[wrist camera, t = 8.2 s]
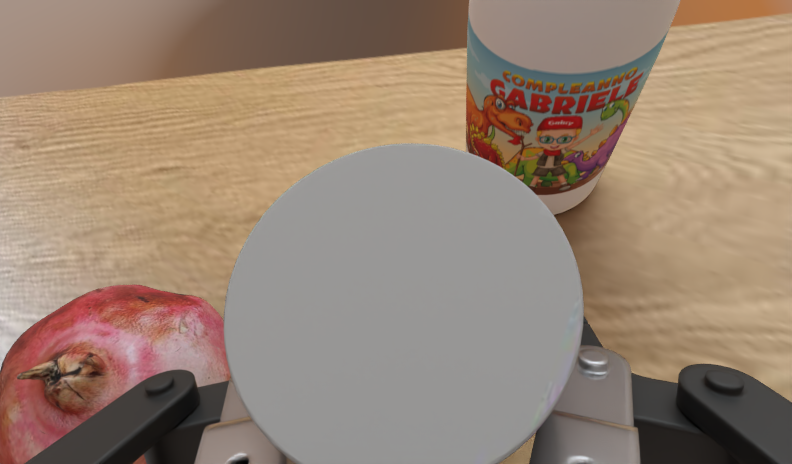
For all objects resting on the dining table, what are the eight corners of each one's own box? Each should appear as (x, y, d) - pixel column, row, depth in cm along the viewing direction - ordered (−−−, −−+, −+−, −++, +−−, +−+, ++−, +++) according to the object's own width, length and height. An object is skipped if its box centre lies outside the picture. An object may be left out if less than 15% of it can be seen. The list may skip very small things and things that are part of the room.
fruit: (69, 391, 24) (-159, 352, 15) (215, 281, 26) (88, 190, 17) (131, 551, 20) (-129, 623, 11) (298, 407, 22) (188, 373, 13)
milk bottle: (453, 131, 29) (436, -392, 11) (571, 105, 28) (748, -478, 11) (483, 234, 25) (528, -304, 7) (619, 206, 25) (1008, -430, 7)
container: (509, 364, 19) (604, 151, 6) (494, 485, 17) (587, 576, 4) (404, 342, 20) (284, 121, 7) (379, 454, 18) (145, 443, 5)
